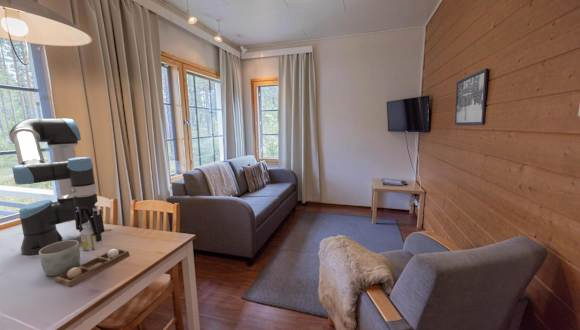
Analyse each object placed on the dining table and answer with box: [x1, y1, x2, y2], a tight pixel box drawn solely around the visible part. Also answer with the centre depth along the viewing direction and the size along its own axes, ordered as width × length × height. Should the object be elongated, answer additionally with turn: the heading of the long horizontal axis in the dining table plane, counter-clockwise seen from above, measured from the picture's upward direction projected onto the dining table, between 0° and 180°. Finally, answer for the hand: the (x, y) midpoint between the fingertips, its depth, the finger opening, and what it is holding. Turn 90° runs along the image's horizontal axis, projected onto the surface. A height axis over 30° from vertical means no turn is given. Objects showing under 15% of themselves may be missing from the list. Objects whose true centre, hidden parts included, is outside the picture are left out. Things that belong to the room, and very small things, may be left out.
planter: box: [38, 239, 81, 277], centre depth 104 cm, size 12×12×11 cm
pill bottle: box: [79, 221, 101, 253], centre depth 104 cm, size 6×6×12 cm
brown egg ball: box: [67, 267, 82, 279], centre depth 99 cm, size 4×4×4 cm
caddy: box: [54, 247, 130, 288], centre depth 106 cm, size 9×24×2 cm, turn 161°
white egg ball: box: [106, 248, 119, 259], centre depth 113 cm, size 4×4×4 cm
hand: (92, 246), depth 104 cm, fingers closed on pill bottle, 6 cm apart
